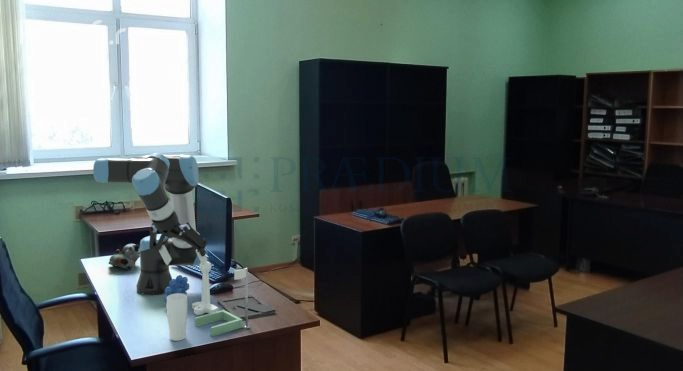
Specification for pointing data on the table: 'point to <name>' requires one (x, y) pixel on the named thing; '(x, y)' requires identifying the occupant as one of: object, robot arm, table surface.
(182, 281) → the grapes
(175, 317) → the drinking glass
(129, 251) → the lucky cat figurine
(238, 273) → the flag post
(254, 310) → the picture frame
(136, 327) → the table surface
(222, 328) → the green u-shaped piece
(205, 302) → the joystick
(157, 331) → the table surface
